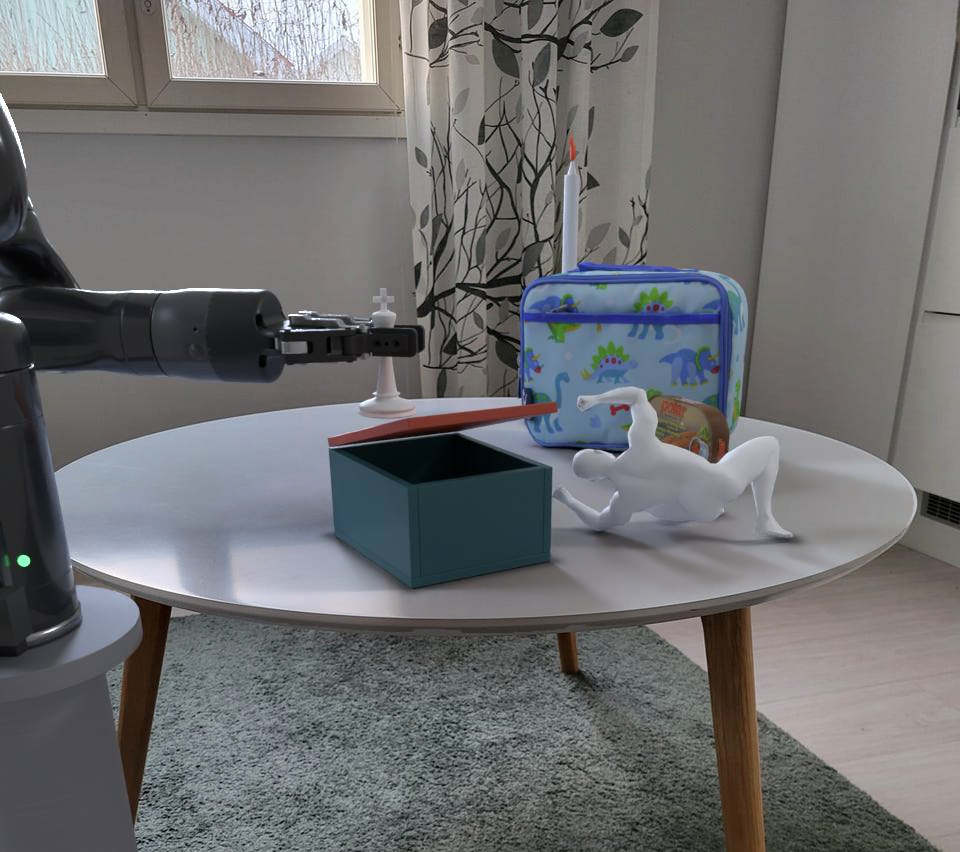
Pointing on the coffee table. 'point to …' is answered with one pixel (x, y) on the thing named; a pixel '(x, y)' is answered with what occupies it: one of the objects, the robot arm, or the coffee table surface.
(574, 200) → the candlestick
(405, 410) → the chess piece
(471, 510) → the teal box
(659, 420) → the tin
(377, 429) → the red box lid
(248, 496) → the coffee table surface
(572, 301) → the lunch box
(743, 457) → the person figurine
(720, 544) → the coffee table surface
